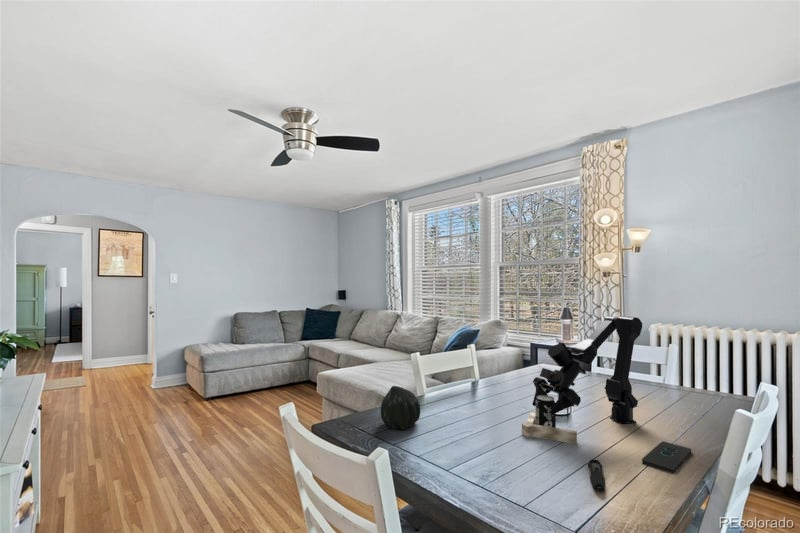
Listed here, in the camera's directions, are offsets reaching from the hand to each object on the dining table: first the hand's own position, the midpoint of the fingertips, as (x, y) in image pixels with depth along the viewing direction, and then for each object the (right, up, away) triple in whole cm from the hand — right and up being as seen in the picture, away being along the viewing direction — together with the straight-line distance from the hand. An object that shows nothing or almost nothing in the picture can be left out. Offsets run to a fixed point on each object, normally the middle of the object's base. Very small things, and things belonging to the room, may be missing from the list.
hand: (541, 409), depth 137 cm
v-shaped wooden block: (-1, -8, -1) cm, 8 cm away
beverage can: (+1, -8, 0) cm, 8 cm away
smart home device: (+31, -8, -19) cm, 37 cm away
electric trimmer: (+3, -8, -32) cm, 33 cm away
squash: (-49, -8, +6) cm, 50 cm away
